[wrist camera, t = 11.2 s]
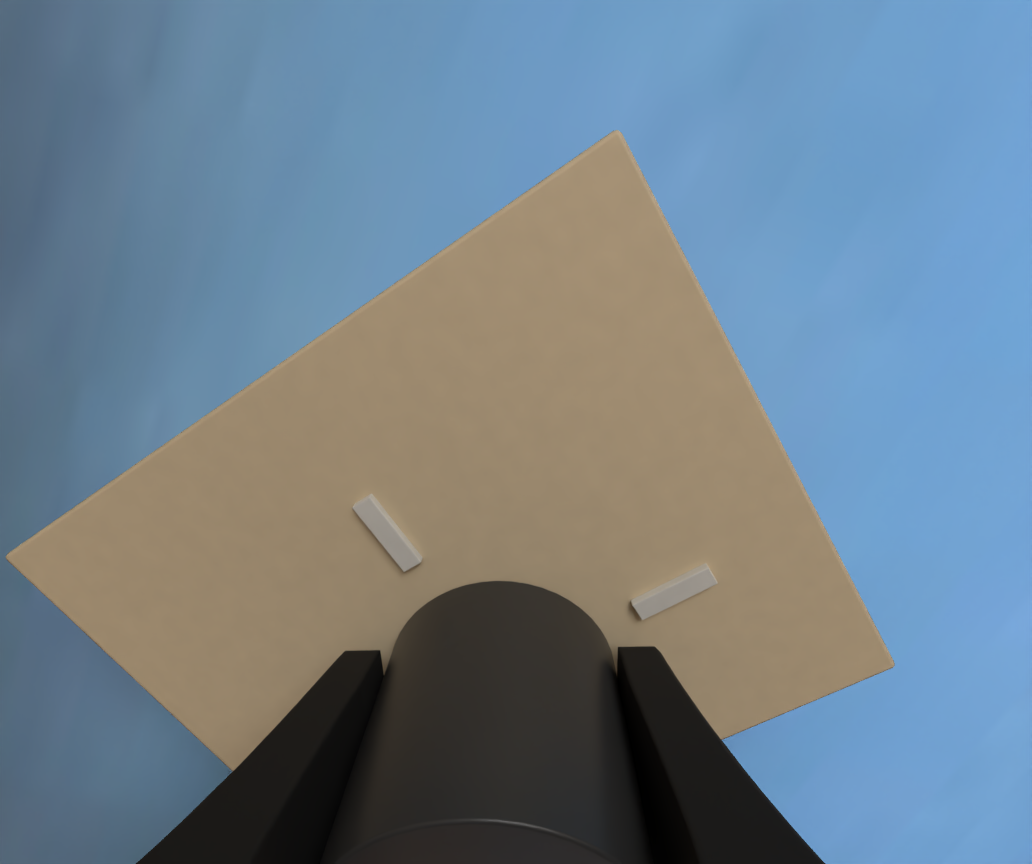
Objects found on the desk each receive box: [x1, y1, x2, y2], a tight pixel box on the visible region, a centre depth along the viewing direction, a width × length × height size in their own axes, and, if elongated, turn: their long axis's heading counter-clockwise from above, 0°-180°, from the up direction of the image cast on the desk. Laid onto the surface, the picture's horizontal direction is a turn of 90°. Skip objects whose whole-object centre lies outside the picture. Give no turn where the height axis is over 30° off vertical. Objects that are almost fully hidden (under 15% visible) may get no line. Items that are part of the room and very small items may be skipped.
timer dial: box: [320, 581, 654, 864], centre depth 8 cm, size 4×4×4 cm
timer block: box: [6, 130, 894, 771], centre depth 11 cm, size 11×12×3 cm
